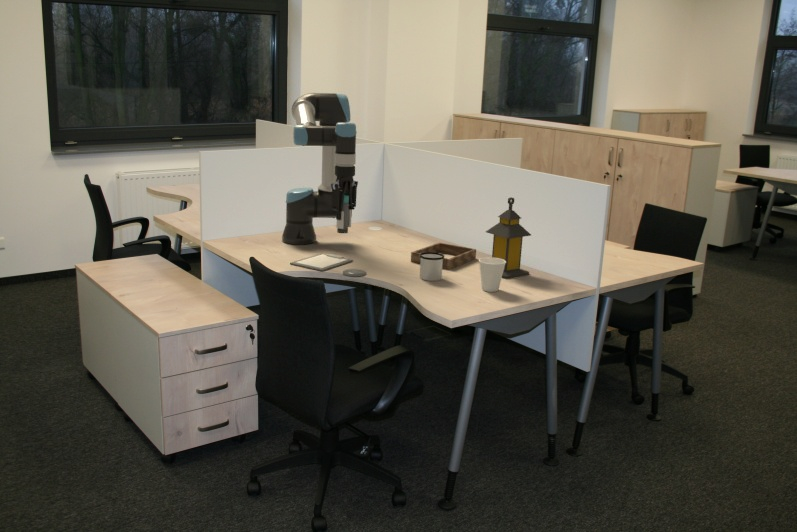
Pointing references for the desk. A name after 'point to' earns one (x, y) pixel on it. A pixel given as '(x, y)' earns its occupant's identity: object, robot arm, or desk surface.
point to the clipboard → (322, 262)
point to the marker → (345, 215)
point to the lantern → (509, 242)
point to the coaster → (354, 272)
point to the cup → (491, 273)
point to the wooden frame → (460, 252)
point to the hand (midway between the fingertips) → (343, 227)
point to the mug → (431, 266)
